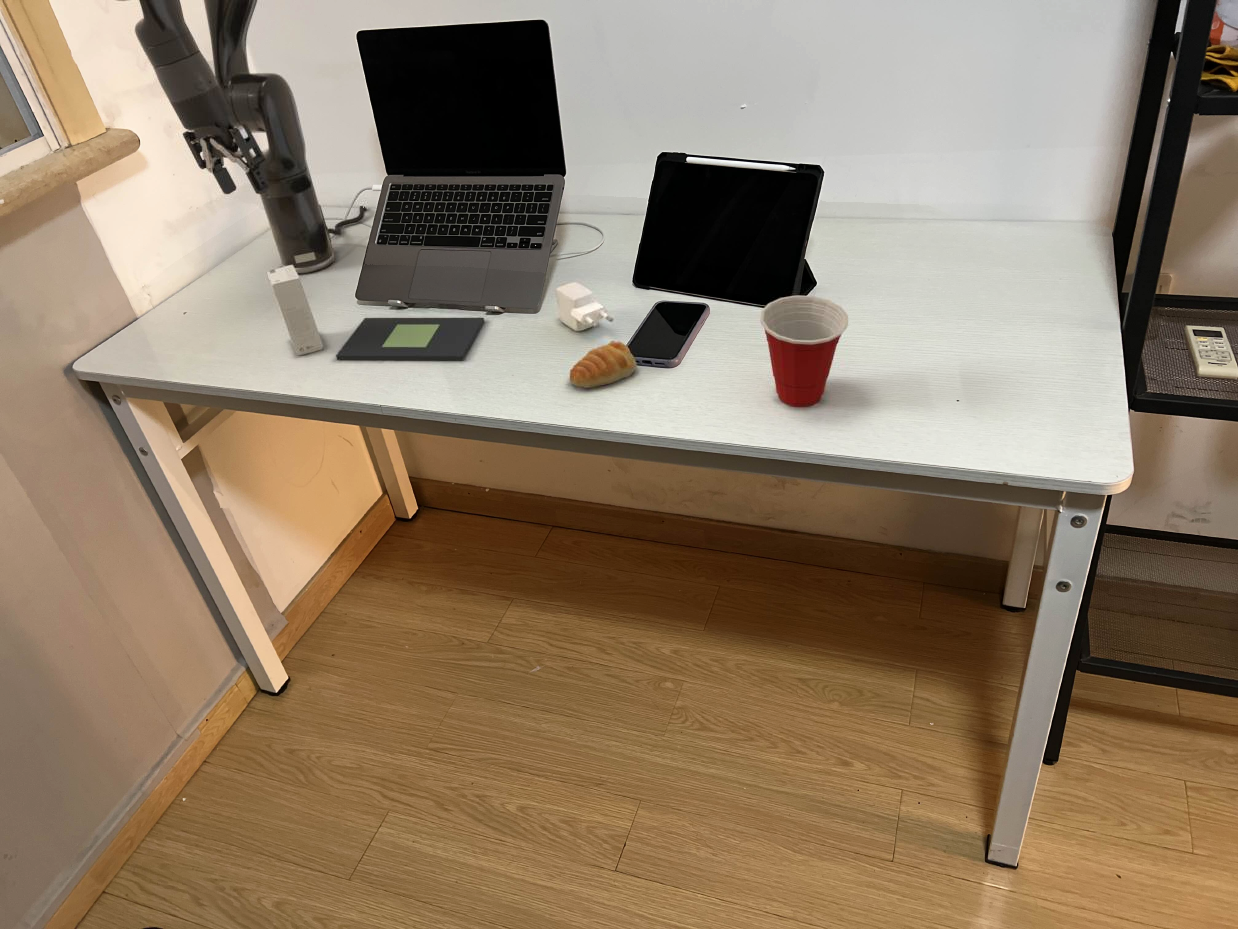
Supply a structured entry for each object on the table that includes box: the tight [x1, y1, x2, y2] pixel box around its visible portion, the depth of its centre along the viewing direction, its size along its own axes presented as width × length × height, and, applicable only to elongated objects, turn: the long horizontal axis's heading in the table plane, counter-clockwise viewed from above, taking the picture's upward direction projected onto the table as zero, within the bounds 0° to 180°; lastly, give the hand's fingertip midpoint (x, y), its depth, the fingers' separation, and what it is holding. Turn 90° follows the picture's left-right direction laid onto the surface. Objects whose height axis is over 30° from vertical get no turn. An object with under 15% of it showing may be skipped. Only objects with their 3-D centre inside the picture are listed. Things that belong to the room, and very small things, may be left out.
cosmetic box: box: [266, 265, 324, 356], centre depth 140 cm, size 6×4×12 cm
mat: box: [335, 317, 485, 362], centre depth 142 cm, size 12×20×1 cm, turn 81°
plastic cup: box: [759, 295, 849, 408], centre depth 117 cm, size 11×11×12 cm
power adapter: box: [555, 281, 614, 332], centre depth 139 cm, size 11×5×6 cm, turn 33°
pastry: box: [569, 340, 638, 389], centre depth 128 cm, size 9×7×4 cm
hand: (246, 191), depth 146 cm, fingers open, 8 cm apart
